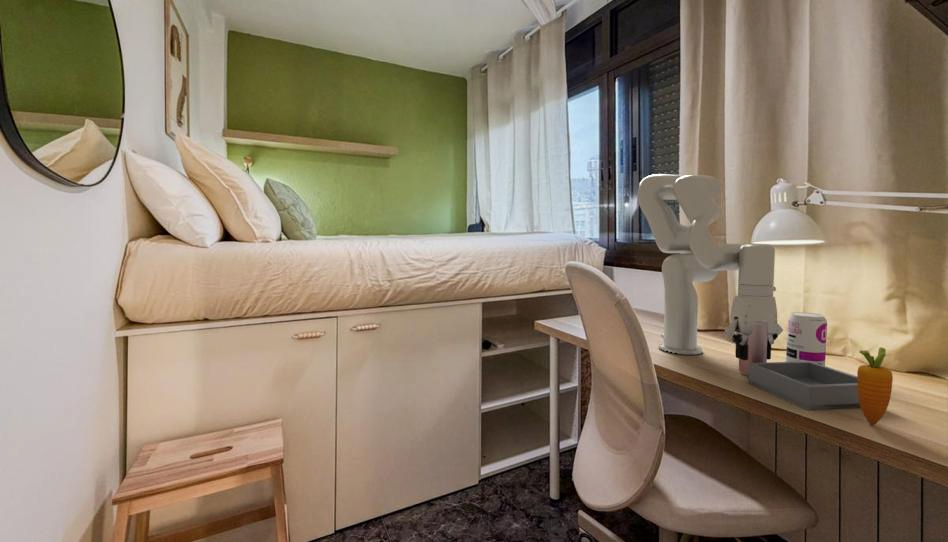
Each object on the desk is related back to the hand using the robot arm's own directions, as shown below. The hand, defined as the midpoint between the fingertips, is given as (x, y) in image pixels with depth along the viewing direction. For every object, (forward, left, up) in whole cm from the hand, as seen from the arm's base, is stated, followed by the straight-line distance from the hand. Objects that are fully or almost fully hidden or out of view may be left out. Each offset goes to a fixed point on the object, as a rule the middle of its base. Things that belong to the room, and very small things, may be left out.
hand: (752, 357), depth 102 cm
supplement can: (-3, +18, -5) cm, 19 cm away
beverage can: (0, 0, -5) cm, 5 cm away
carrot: (+29, 0, -5) cm, 29 cm away
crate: (+14, +2, -4) cm, 15 cm away
